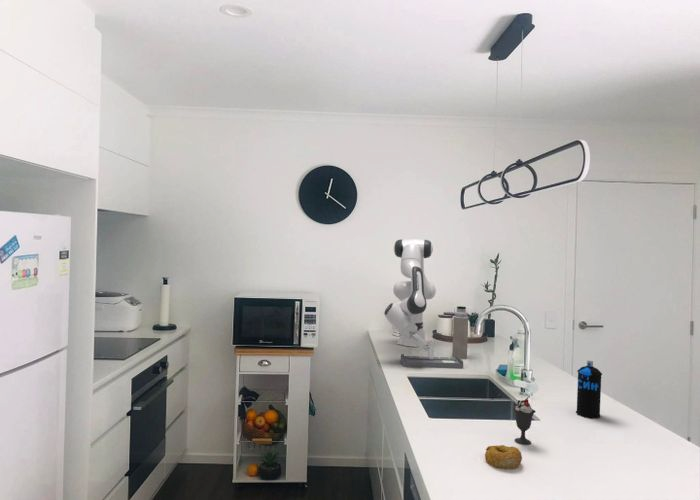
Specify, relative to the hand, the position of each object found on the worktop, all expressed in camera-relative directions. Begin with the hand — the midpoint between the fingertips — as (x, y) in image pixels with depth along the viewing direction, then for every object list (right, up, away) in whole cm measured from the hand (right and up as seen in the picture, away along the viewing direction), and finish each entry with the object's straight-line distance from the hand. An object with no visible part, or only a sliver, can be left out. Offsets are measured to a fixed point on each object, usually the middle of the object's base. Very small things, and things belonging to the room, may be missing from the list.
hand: (427, 350), depth 247 cm
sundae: (+14, -9, -96) cm, 98 cm away
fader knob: (+2, -4, 0) cm, 5 cm away
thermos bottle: (+21, -8, +19) cm, 29 cm away
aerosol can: (+48, -10, -69) cm, 85 cm away
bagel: (+3, -9, -111) cm, 112 cm away
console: (+2, -7, 0) cm, 8 cm away
